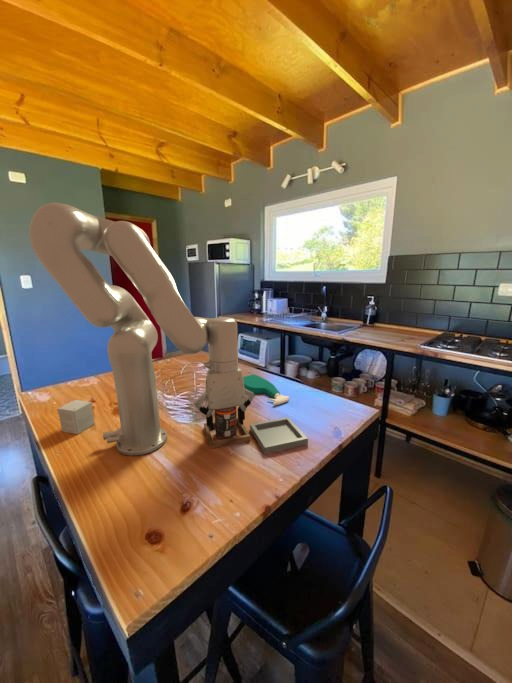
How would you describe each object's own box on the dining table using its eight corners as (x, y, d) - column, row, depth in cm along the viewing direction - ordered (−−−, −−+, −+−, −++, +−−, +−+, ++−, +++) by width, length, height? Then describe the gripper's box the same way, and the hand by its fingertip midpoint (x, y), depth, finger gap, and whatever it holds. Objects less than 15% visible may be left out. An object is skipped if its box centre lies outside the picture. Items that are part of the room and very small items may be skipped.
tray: (264, 454, 72) (265, 447, 72) (250, 429, 83) (250, 424, 83) (307, 444, 76) (308, 438, 75) (288, 422, 87) (288, 417, 86)
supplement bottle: (233, 441, 78) (232, 402, 75) (212, 439, 79) (210, 400, 76) (239, 429, 83) (238, 393, 80) (219, 427, 84) (218, 391, 82)
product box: (95, 424, 87) (91, 401, 85) (77, 435, 81) (73, 411, 79) (79, 421, 89) (75, 399, 87) (61, 431, 83) (56, 408, 81)
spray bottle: (256, 379, 122) (295, 401, 102) (233, 385, 116) (271, 410, 96) (256, 373, 121) (296, 394, 102) (233, 378, 115) (271, 401, 96)
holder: (210, 448, 74) (210, 443, 74) (204, 428, 84) (204, 423, 84) (250, 440, 78) (250, 435, 77) (239, 421, 87) (239, 417, 87)
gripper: (192, 373, 70) (196, 438, 74) (259, 365, 75) (260, 426, 80) (188, 364, 77) (192, 424, 81) (250, 357, 82) (251, 413, 86)
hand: (226, 424), depth 80 cm, fingers open, 7 cm apart
